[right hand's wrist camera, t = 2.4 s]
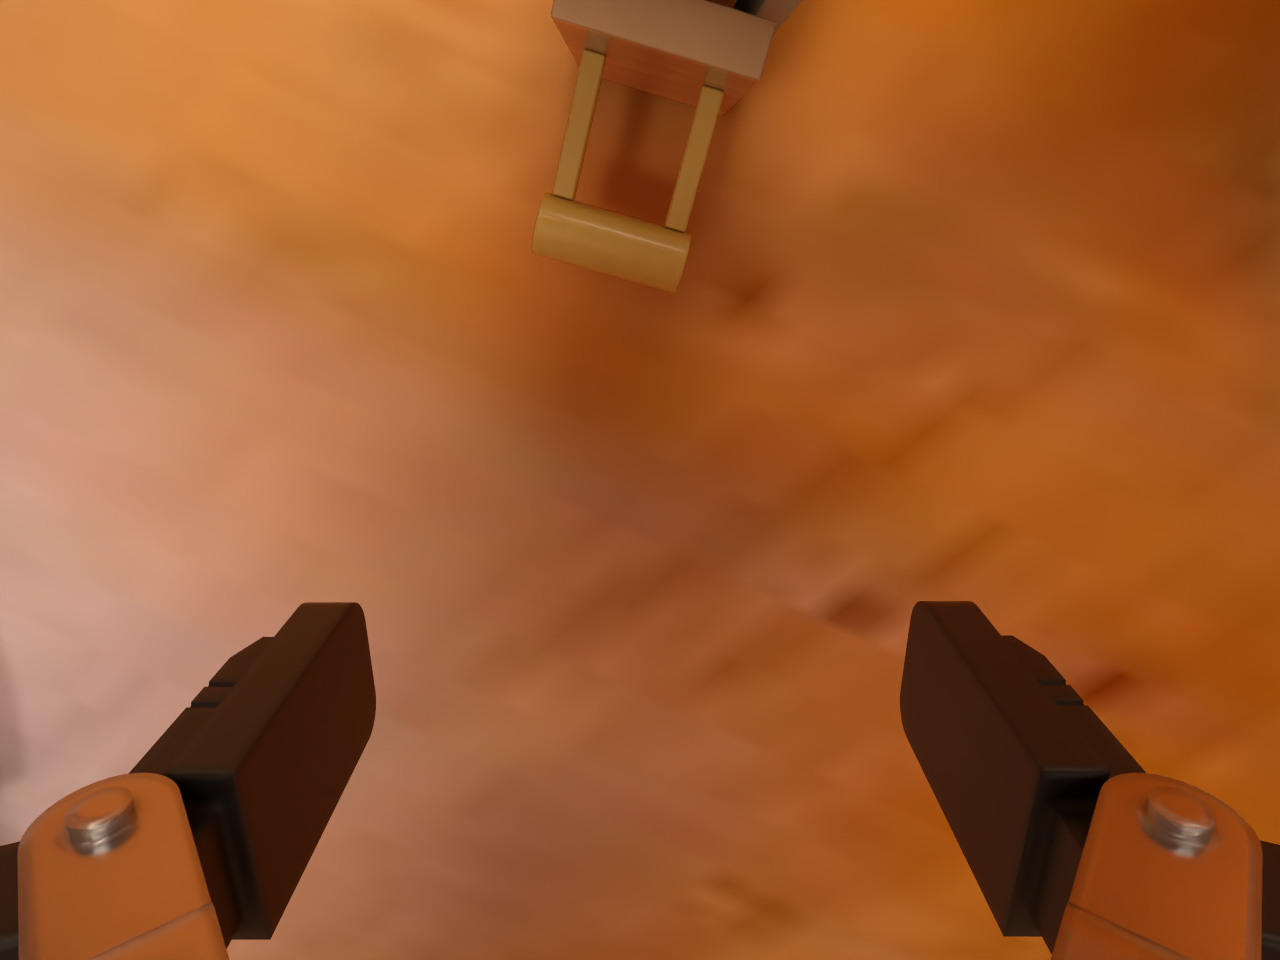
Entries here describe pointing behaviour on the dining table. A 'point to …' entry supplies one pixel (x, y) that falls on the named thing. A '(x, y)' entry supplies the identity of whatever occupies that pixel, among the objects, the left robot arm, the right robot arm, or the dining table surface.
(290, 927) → the dining table surface
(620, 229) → the drawer
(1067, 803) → the right robot arm
